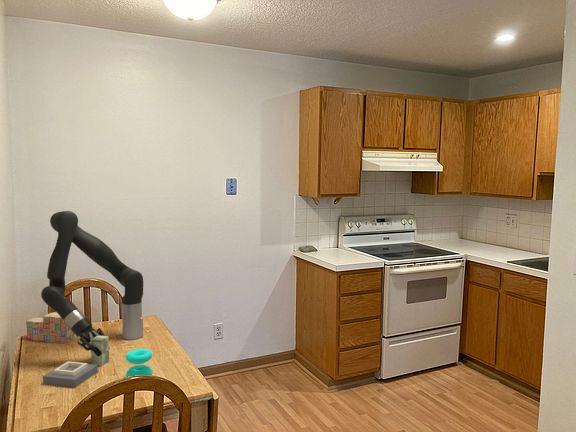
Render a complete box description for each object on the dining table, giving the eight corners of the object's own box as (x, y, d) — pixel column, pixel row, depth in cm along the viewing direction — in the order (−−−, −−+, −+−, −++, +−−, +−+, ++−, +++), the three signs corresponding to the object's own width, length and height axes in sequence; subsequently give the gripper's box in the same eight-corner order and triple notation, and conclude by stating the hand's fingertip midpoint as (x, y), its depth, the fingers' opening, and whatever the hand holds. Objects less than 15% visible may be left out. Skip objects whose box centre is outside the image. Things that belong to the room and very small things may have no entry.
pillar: (98, 360, 205) (98, 335, 203) (109, 361, 203) (108, 336, 202) (91, 364, 200) (90, 339, 199) (102, 366, 199) (101, 340, 198)
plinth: (67, 368, 195) (66, 358, 195) (97, 372, 193) (97, 361, 192) (43, 383, 182) (42, 372, 181) (75, 387, 179) (75, 375, 178)
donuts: (141, 358, 182) (120, 355, 185) (142, 383, 183) (120, 379, 186) (157, 349, 191) (136, 346, 194) (157, 373, 192) (137, 369, 195)
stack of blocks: (26, 340, 228) (25, 314, 227) (35, 335, 234) (34, 311, 233) (66, 343, 224) (66, 317, 223) (75, 338, 230) (74, 314, 229)
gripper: (72, 322, 194) (99, 353, 193) (93, 312, 208) (119, 341, 207) (61, 333, 196) (88, 364, 195) (83, 323, 210) (108, 351, 209)
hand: (104, 352), depth 201 cm, fingers closed on pillar, 5 cm apart
